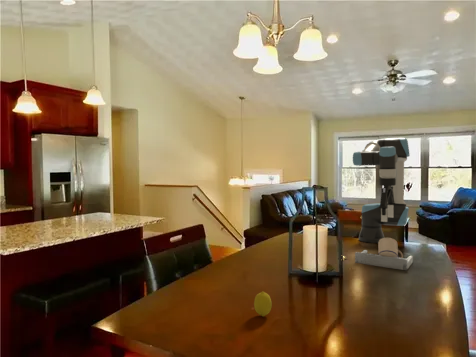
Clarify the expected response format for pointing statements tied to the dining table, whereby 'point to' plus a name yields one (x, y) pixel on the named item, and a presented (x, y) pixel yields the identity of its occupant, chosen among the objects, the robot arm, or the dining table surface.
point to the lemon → (262, 304)
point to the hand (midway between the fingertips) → (387, 219)
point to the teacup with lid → (388, 248)
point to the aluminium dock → (383, 260)
